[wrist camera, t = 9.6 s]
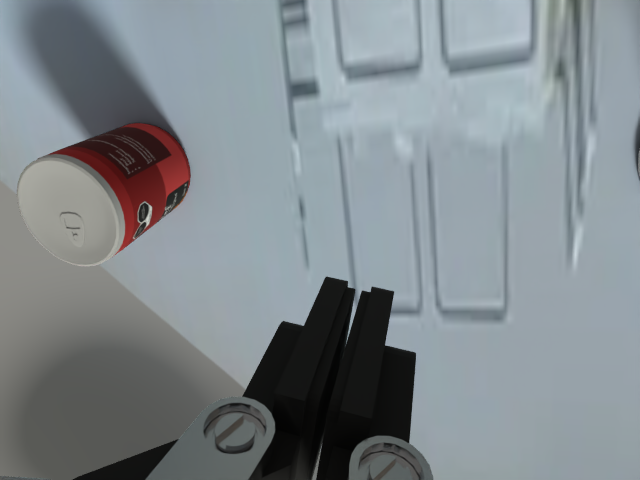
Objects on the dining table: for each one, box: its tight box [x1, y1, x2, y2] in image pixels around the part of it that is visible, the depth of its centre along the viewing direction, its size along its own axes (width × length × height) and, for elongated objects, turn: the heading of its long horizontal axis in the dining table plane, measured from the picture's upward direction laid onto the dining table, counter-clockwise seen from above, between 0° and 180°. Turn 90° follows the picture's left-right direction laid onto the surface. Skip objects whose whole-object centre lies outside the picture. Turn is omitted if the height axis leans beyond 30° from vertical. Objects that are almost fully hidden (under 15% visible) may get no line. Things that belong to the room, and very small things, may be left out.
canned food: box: [17, 123, 191, 266], centre depth 36 cm, size 8×8×11 cm
